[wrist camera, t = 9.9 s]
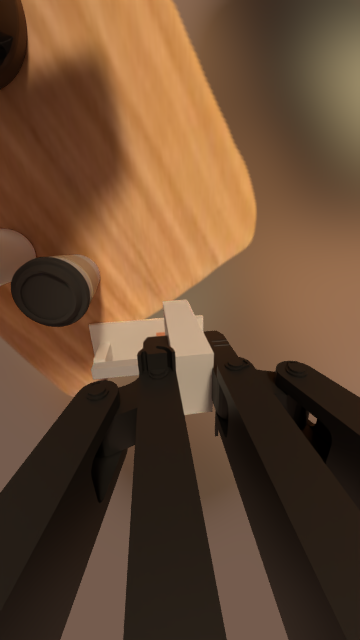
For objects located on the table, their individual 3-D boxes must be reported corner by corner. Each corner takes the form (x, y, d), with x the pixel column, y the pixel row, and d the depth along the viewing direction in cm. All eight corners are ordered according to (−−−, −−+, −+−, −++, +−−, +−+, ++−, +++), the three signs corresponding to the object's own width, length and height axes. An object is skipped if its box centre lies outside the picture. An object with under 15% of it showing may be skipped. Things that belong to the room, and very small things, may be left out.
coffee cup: (95, 306, 44) (70, 344, 30) (45, 285, 41) (-8, 315, 27) (114, 263, 41) (96, 282, 27) (62, 237, 39) (14, 244, 25)
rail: (89, 323, 45) (74, 349, 36) (202, 315, 47) (215, 337, 38) (99, 371, 49) (87, 405, 40) (202, 361, 51) (213, 391, 42)
